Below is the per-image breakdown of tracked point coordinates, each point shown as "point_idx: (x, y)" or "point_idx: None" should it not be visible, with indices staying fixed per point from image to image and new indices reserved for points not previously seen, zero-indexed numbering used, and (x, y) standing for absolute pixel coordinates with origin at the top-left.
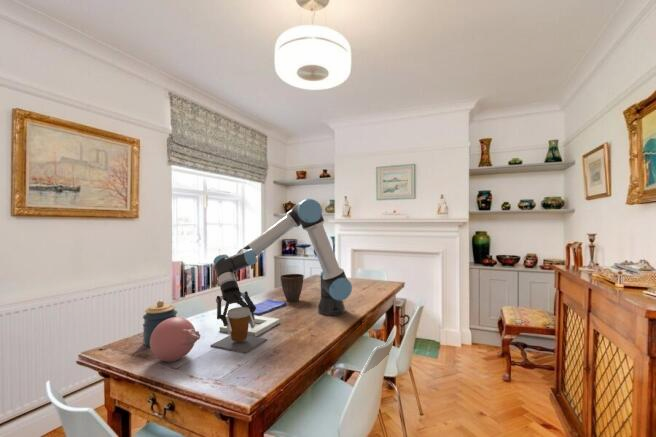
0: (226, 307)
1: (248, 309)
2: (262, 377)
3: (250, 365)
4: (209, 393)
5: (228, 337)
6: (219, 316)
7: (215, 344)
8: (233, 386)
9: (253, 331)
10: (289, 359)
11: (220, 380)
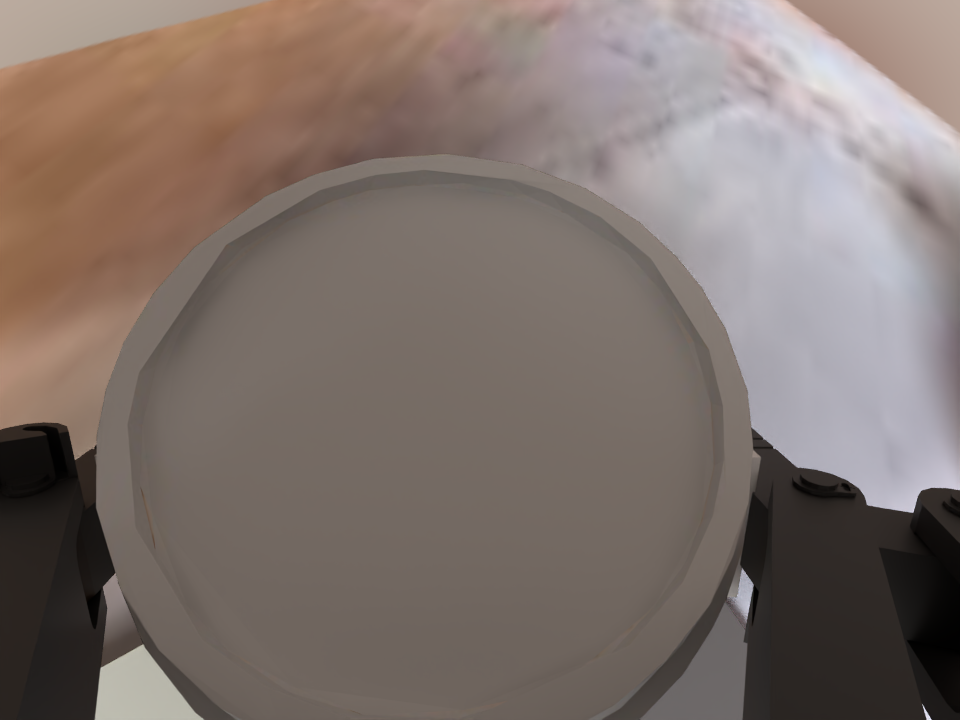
0: (850, 684)
1: (204, 264)
2: (532, 6)
3: (537, 125)
4: (806, 22)
5: None
6: (948, 497)
7: (729, 670)
8: (688, 14)
9: (166, 692)
10: (296, 65)
11: (743, 81)
